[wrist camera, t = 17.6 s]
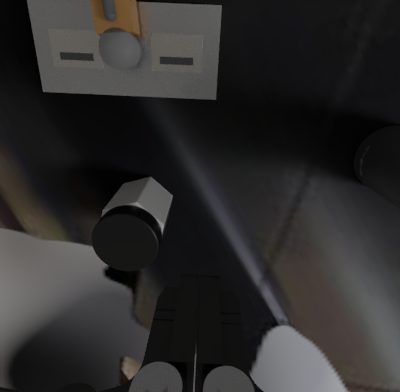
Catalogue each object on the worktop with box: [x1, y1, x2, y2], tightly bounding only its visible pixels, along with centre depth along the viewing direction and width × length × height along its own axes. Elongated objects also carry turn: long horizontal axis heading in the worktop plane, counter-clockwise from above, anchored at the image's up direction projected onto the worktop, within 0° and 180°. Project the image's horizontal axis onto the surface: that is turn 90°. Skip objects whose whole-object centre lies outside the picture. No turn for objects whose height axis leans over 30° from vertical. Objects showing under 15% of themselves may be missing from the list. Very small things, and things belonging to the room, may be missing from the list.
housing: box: [27, 0, 222, 100], centre depth 34 cm, size 22×10×3 cm, turn 88°
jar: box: [92, 177, 173, 271], centre depth 38 cm, size 9×8×12 cm
